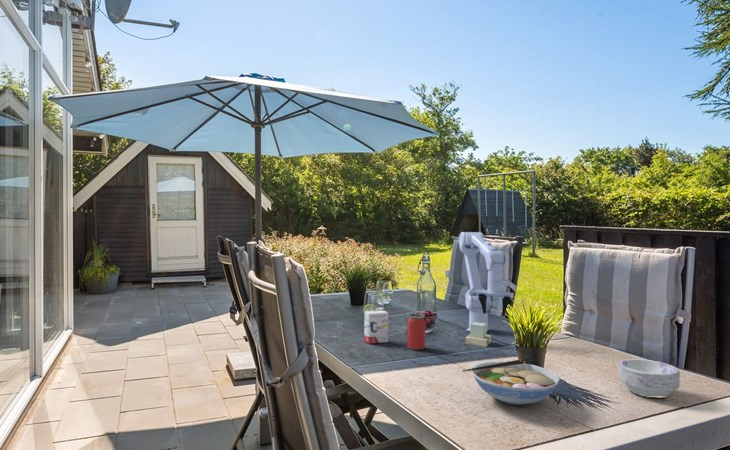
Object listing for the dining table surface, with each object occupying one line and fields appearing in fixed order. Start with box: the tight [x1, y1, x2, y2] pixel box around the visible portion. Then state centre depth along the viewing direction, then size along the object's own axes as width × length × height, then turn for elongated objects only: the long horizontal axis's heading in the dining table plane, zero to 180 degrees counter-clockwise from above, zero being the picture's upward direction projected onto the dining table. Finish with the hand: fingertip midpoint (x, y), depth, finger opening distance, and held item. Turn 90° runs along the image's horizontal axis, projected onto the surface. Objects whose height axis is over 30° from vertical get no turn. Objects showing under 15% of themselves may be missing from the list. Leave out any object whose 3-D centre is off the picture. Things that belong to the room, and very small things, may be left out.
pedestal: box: [464, 333, 492, 348], centre depth 191 cm, size 8×8×3 cm
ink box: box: [363, 310, 389, 345], centre depth 190 cm, size 9×5×12 cm, turn 113°
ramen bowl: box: [461, 357, 561, 406], centre depth 132 cm, size 25×23×8 cm
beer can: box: [406, 314, 427, 351], centre depth 182 cm, size 7×7×12 cm
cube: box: [469, 322, 488, 339], centre depth 191 cm, size 5×5×5 cm
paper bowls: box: [617, 358, 681, 397], centre depth 139 cm, size 15×15×8 cm
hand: (494, 314), depth 196 cm, fingers open, 7 cm apart
